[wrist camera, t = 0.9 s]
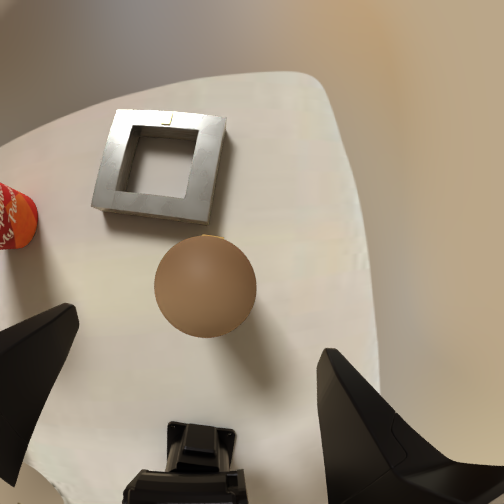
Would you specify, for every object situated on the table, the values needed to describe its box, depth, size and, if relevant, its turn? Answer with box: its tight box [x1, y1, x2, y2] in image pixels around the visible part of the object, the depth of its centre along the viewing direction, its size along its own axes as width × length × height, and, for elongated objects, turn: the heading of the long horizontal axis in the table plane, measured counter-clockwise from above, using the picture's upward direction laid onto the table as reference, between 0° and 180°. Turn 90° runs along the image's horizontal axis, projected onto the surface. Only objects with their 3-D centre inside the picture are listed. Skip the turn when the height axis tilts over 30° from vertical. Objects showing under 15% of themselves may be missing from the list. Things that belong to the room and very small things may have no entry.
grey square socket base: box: [91, 110, 226, 225], centre depth 22 cm, size 9×10×3 cm
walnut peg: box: [154, 234, 256, 338], centre depth 18 cm, size 4×4×12 cm
